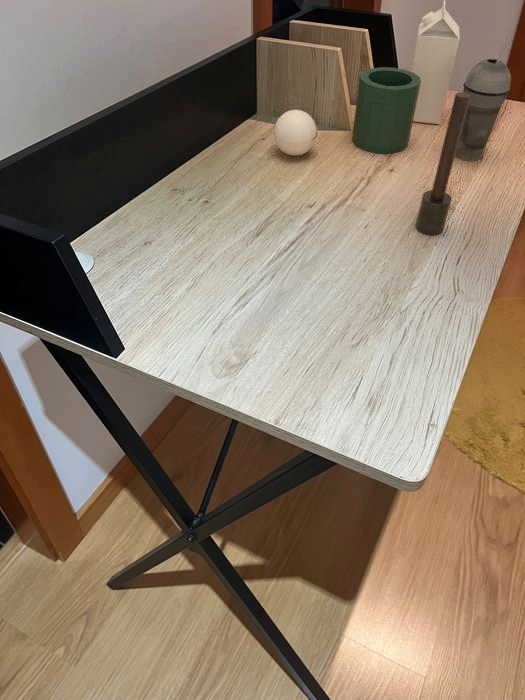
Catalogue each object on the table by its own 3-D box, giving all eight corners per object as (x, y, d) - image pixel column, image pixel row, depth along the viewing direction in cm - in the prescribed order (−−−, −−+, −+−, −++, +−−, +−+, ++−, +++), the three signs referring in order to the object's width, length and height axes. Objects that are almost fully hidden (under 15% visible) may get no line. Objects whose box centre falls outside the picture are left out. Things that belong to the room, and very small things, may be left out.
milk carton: (440, 110, 113) (465, 1, 100) (439, 125, 108) (466, 13, 95) (403, 106, 114) (424, -2, 101) (401, 121, 110) (422, 9, 96)
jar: (404, 130, 107) (416, 68, 99) (410, 155, 100) (424, 90, 92) (351, 128, 107) (358, 66, 99) (353, 152, 100) (362, 88, 92)
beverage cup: (453, 142, 103) (485, 18, 89) (493, 151, 101) (532, 26, 87) (441, 158, 99) (472, 31, 85) (483, 168, 96) (522, 39, 82)
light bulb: (309, 166, 96) (312, 123, 91) (267, 159, 98) (268, 116, 93) (324, 141, 103) (327, 100, 98) (284, 135, 105) (286, 94, 99)
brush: (440, 220, 85) (476, 89, 71) (445, 236, 82) (483, 101, 68) (413, 219, 85) (444, 88, 71) (417, 234, 82) (449, 100, 69)
